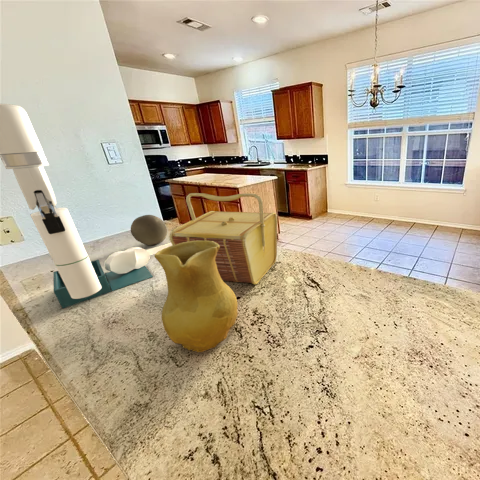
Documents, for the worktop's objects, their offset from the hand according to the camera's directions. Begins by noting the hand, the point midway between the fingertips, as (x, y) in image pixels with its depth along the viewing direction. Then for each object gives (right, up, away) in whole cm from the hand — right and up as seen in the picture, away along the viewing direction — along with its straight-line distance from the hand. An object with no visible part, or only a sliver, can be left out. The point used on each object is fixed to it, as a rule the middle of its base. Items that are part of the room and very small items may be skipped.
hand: (57, 228), depth 71 cm
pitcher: (+42, -28, -1) cm, 50 cm away
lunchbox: (-6, -19, +25) cm, 32 cm away
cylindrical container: (+1, -19, +8) cm, 20 cm away
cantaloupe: (-10, -6, +58) cm, 59 cm away
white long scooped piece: (+2, -11, +42) cm, 44 cm away
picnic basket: (+39, -15, +29) cm, 51 cm away
